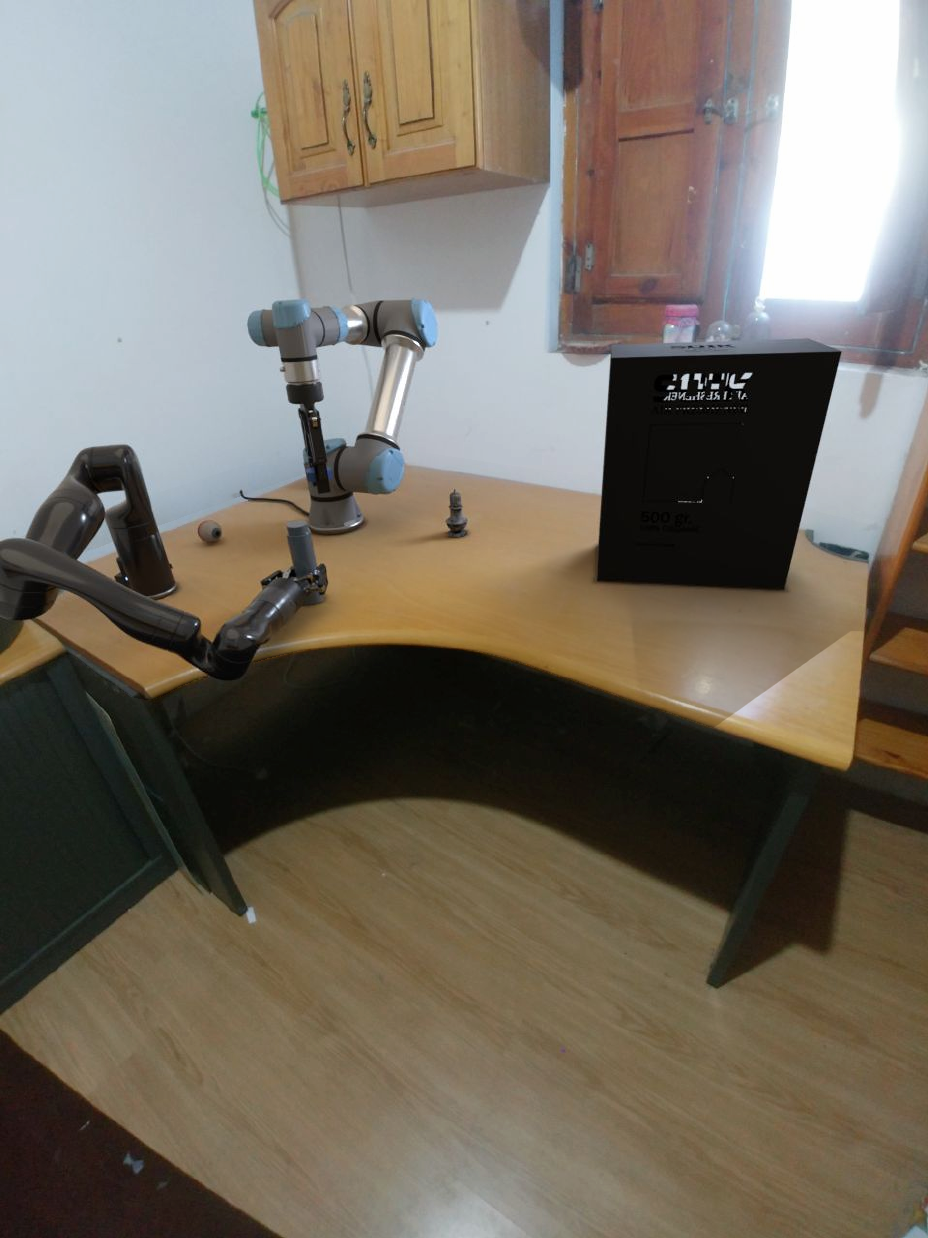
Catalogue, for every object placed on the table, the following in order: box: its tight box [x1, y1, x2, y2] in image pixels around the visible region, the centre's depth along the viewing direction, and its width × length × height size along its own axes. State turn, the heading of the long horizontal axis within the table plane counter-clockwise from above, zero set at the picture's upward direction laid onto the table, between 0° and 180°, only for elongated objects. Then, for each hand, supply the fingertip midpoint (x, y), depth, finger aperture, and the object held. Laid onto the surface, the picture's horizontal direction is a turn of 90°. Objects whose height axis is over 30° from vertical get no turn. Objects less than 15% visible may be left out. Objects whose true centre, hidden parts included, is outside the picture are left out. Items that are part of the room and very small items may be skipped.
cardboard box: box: [596, 337, 842, 591], centre depth 125 cm, size 38×20×45 cm, turn 78°
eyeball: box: [197, 519, 223, 544], centre depth 161 cm, size 6×6×6 cm
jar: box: [285, 519, 324, 606], centre depth 127 cm, size 5×5×18 cm
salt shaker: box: [444, 488, 469, 538], centre depth 156 cm, size 6×6×12 cm
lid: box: [305, 466, 332, 482], centre depth 137 cm, size 6×6×2 cm
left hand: (311, 567), depth 130 cm, fingers closed on jar, 5 cm apart
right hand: (321, 488), depth 139 cm, fingers closed on lid, 6 cm apart
